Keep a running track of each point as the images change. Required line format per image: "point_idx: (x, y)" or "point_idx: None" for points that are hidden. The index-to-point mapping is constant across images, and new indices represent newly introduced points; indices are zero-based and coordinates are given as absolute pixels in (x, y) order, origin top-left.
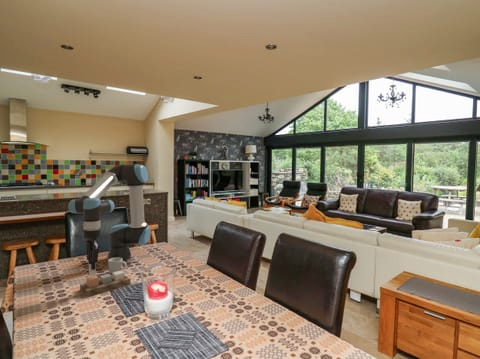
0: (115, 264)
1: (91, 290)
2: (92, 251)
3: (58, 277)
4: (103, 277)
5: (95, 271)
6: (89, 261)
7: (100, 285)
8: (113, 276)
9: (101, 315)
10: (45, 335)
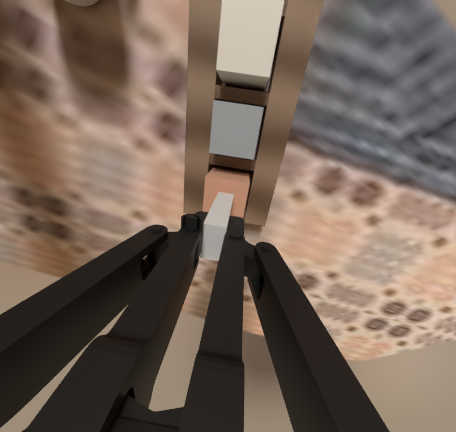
0: None
1: (267, 213)
2: (287, 408)
3: (26, 194)
4: (245, 152)
5: (231, 202)
6: (198, 261)
7: (257, 171)
8: (233, 77)
9: (406, 251)
10: (348, 332)
